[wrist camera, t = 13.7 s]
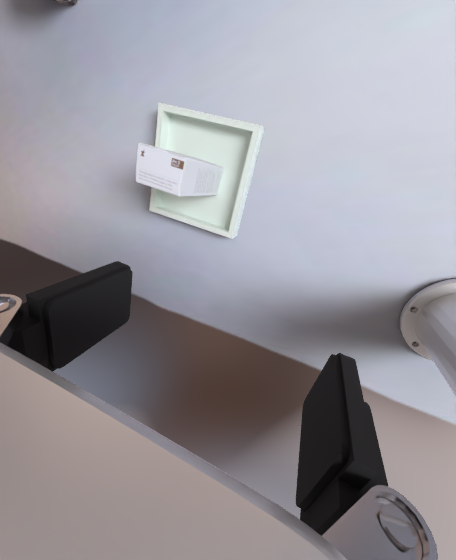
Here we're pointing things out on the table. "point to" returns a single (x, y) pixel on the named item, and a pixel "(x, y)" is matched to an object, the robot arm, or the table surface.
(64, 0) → the lighter
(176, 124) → the sage tray
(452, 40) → the table surface
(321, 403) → the robot arm
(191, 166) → the skincare box
